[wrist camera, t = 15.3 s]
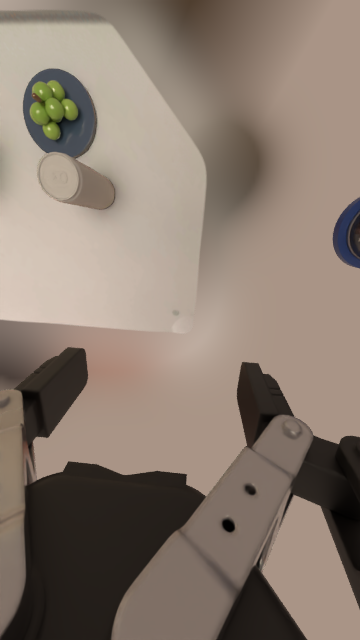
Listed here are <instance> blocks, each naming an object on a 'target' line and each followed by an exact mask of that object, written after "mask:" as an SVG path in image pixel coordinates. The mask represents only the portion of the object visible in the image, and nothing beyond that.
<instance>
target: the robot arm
mask: <svg viewBox="0 0 360 640" xmlns="http://www.w3.org/2000/svg"><path fill="white" fill-rule="evenodd" d="M346 242H347V247H348V249H349V251H350V252H351V254H352V255H353V256H354V257H356V258H357V259H360V210H359V211H358V212H357V214H356V215H355V216H354V217H353V219H352V220H351V222H350V224H349V227H348V230H347V234H346ZM87 379H88V371H87V362H86V353H85V350H84V349H83V348H71V347H68V348H67V349H65V350H64V351H63V352H62V353H61V354H60V355H59V356H55V357H53V358H51V359H50V360H47V361H46V362H45V363H43V364H42V365H41V366H40V367H39V368H38V369H36V370H35V371H34V373H32V374H31V375H30V376H28V377H27V378H26V379H25V380H24V381H23V382H21V383H20V384H19V385H18V386H17V387H16V388H15V389H13V390H12V389H9V390H2V391H0V640H307V639H306V637H305V636H304V634H303V633H302V631H301V630H300V628H299V627H298V625H297V624H296V623H295V621H294V620H293V618H292V617H291V615H290V614H289V612H288V611H287V609H286V608H285V606H284V605H283V603H282V602H281V601H280V599H279V597H278V596H277V595H276V593H275V592H274V590H273V589H272V587H271V586H270V584H269V583H268V581H267V580H266V578H265V577H264V576H263V574H262V572H263V570H264V567H265V565H266V562H267V560H268V557H269V555H270V552H271V550H272V547H273V544H274V541H275V539H276V537H277V534H278V532H279V530H280V527H281V525H282V522H283V520H284V518H285V515H286V513H287V511H288V509H289V506H290V504H291V501H292V499H293V497H294V495H296V496H299V497H301V498H304V499H306V500H308V501H311V502H313V503H315V504H317V505H320V506H321V508H322V511H323V513H324V516H325V519H326V521H327V524H328V527H329V529H330V532H331V534H332V537H333V540H334V542H335V545H336V548H337V550H338V553H339V555H340V558H341V561H342V564H343V566H344V568H345V571H346V574H347V577H348V579H349V582H350V585H351V587H352V590H353V592H354V595H355V598H356V600H357V603H358V606H359V608H360V438H359V437H355V436H345V437H343V438H342V439H341V441H340V443H339V444H336V443H333V442H330V441H326V440H324V439H321V438H318V437H316V436H314V435H313V433H312V431H311V429H310V428H309V427H308V426H307V425H306V424H305V423H304V422H302V421H301V420H299V419H297V418H295V417H294V415H293V413H292V411H291V409H290V407H289V405H288V403H287V401H286V399H285V397H284V396H283V393H282V391H281V390H280V387H279V385H278V383H277V381H276V380H275V379H273V378H272V377H271V376H270V375H269V374H263V373H262V371H261V368H260V366H259V364H258V363H247V362H242V365H241V370H240V376H239V382H238V388H237V400H238V405H239V410H240V415H241V419H242V423H243V428H244V433H245V437H246V442H247V446H246V447H245V448H244V449H243V450H242V451H241V452H240V454H239V455H238V456H237V458H236V459H235V460H234V462H233V463H232V464H231V466H230V467H229V468H228V469H227V471H226V472H225V473H224V474H223V476H222V477H221V478H220V480H219V481H218V482H217V484H216V485H215V486H214V488H213V489H212V490H211V491H210V493H209V494H208V495H207V497H206V496H205V495H203V494H202V493H201V492H199V491H198V490H196V489H194V488H192V487H190V486H188V485H186V476H187V475H186V474H180V473H179V474H178V473H170V472H160V471H155V472H147V473H140V474H132V475H122V474H119V473H116V472H114V471H112V470H109V469H107V468H104V467H102V466H99V465H97V464H87V463H78V462H68V463H67V465H66V467H65V469H64V471H63V472H60V473H56V474H52V475H49V476H46V477H43V478H41V479H39V480H37V476H36V465H35V456H34V446H33V440H34V439H35V437H46V438H48V437H49V436H50V434H51V433H52V431H53V430H54V429H55V427H56V426H57V425H58V423H59V422H60V420H61V419H62V417H63V416H64V415H65V413H66V412H67V411H68V409H69V408H70V407H71V405H72V404H73V402H74V401H75V400H76V398H77V397H78V396H79V394H80V393H81V391H82V390H83V388H84V387H85V385H86V383H87Z"/></svg>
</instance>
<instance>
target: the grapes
mask: <svg viewBox="0 0 360 640" xmlns="http://www.w3.org/2000/svg"><path fill="white" fill-rule="evenodd" d="M23 113H24V119H25V123H26V126H27V129H28V131H29V133H30V135H31V137H32V138H33V140H34V141H35V142H36V144H37V145H38V146H39V147H40V148H41V149H42V150H43V151H45V152H46V153H50V152H58V153H64V154H66V155H68V156H70V157H72V158H74V159H75V158H77V157H79V156H81V155H82V154H84V153H85V152H86V151H87V150H88V148H89V147H90V145H91V144H92V142H93V139H94V136H95V132H96V113H95V108H94V105H93V102H92V100H91V97H90V95H89V94H88V92H87V90H86V89H85V88H84V86H83V85H82V84H81V83H80V82H79V80H78V79H76V78H75V77H74V76H73V75H71V74H70V73H68V72H66V71H64V70H60V69H46V70H43V71H41V72H39V73H38V74H36V75H35V76H34V77H33V78H32V79H31V81H30V82H29V84H28V86H27V88H26V91H25V94H24V100H23Z"/></svg>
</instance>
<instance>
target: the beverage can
mask: <svg viewBox="0 0 360 640" xmlns="http://www.w3.org/2000/svg"><path fill="white" fill-rule="evenodd" d="M37 177H38V181H39V184H40V186H41V188H42V189H43V191H44V192H45V193H46V194H47V195H48V196H49V197H51V198H53V199H55V200H57V201H59V202H63V203H68V204H73V205H78V206H83V207H88V208H94V209H99V210H101V209H105V208H107V207H109V206H110V205H111V204H112V202H113V200H114V195H115V192H114V188H113V185H112V183H111V182H110V181H109V180H108V179H107V178H106V177H104V176H103V175H101V174H99V173H97V172H96V171H94V170H93V169H91V168H89V167H88V166H86V165H84V164H83V163H81V162H79V161H77V160H75V159H74V158H72V157H70V156H68V155H66V154H64V153H58V152H50V153H48V154H45V155H44V156H43V157H42V158H41V160H40V162H39V163H38V168H37Z"/></svg>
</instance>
